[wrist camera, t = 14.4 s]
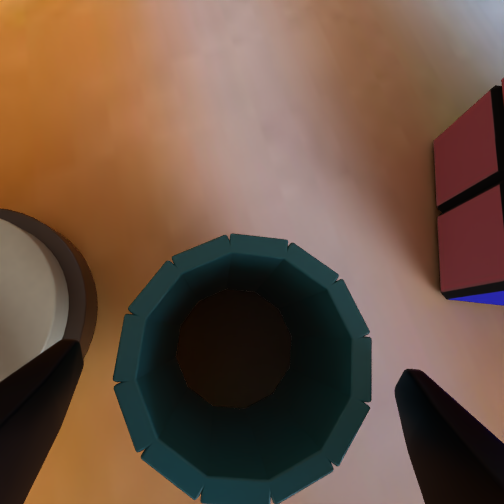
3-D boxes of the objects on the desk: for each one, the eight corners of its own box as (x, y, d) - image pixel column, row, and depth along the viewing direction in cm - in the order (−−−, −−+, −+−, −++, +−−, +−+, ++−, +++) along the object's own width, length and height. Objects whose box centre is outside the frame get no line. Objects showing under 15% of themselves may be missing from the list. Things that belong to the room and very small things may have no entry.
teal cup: (251, 451, 15) (282, 571, 8) (136, 364, 16) (56, 394, 8) (326, 329, 17) (414, 327, 9) (220, 253, 18) (221, 191, 10)
